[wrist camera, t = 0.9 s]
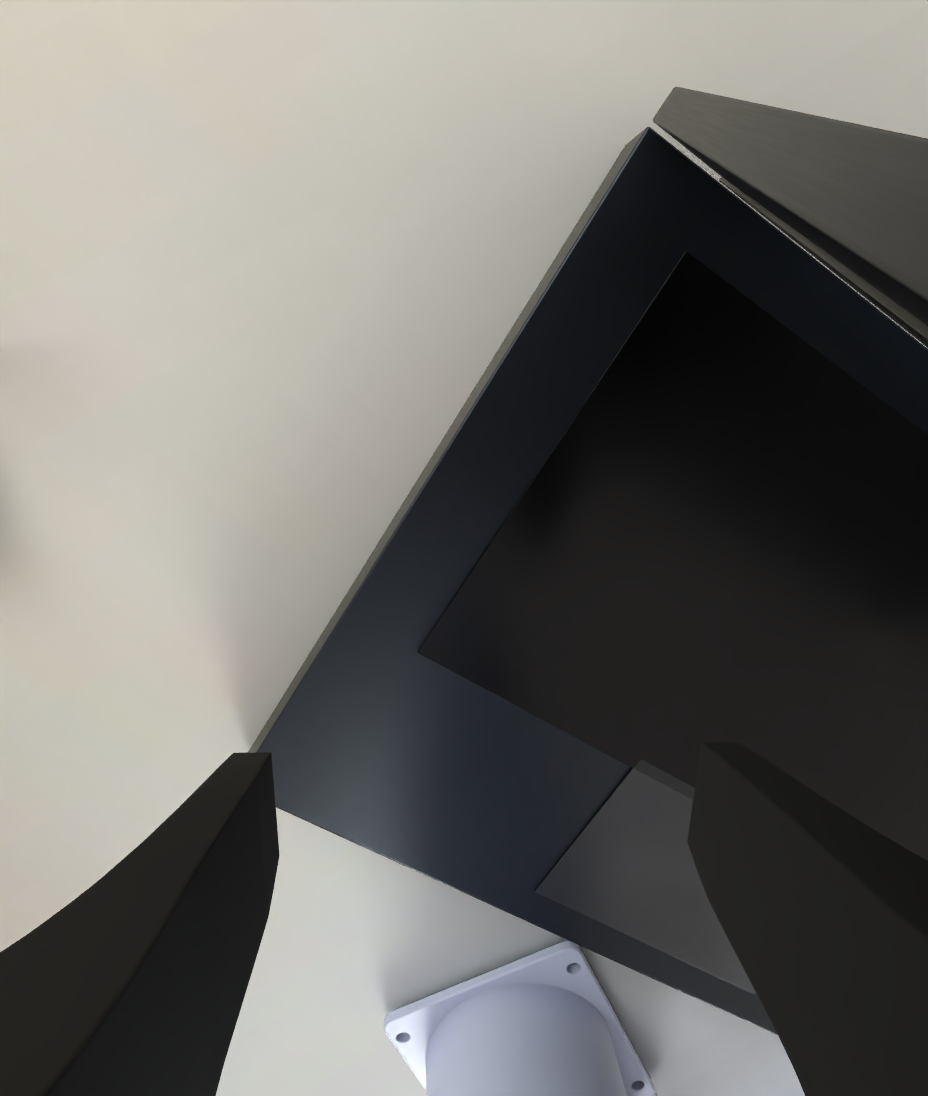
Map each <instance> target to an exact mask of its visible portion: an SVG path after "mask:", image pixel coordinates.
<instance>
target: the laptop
mask: <svg viewBox="0 0 928 1096" xmlns="http://www.w3.org/2000/svg"><path fill="white" fill-rule="evenodd" d="M706 742H737V743H739V744H741V745H743V746H745V747H746V748H748V749H750V750H751V751H753V752H755V753H756V754H758V755H759V756H761V757H763V758H764V759H766V760H767V761H769V762H770V763H772V764H773V765H775V766H776V767H778V768H779V769H781V770H782V771H784V772H785V773H787V774H788V775H790V776H791V777H793V778H795V779H796V780H798V781H799V782H801V783H802V784H804V785H805V786H807V787H808V788H810V789H811V790H813V791H814V792H816V793H817V794H819V795H820V796H822V797H823V798H825V799H826V800H828V801H829V802H831V803H833V804H834V805H836V806H837V807H839V808H840V809H842V810H843V811H845V812H847V813H848V814H850V815H851V816H853V817H854V818H856V819H858V820H859V821H861V822H863V823H864V824H866V825H867V826H869V827H871V828H872V829H874V830H876V831H877V832H879V833H881V834H882V835H884V836H886V837H887V838H889V839H891V840H892V841H894V842H896V843H898V844H899V845H901V846H903V847H904V848H906V849H908V850H910V851H911V852H913V853H915V854H916V855H918V856H920V857H922V858H923V859H925V860H927V861H928V349H927V348H926V347H924V346H923V345H922V344H921V343H919V342H918V341H917V340H916V339H914V338H913V337H912V336H910V335H909V334H908V333H907V332H905V331H904V330H903V329H902V328H900V327H899V326H898V325H897V324H895V323H894V322H893V321H892V320H890V319H889V318H888V317H887V316H885V315H884V314H883V313H882V312H880V311H879V310H878V309H877V308H875V307H874V306H873V305H872V304H870V303H869V302H868V301H867V300H865V299H864V298H863V297H862V296H860V295H859V294H858V293H857V292H855V291H854V290H853V289H852V288H850V287H849V286H848V285H847V284H845V283H844V282H843V281H842V280H840V279H839V278H838V277H837V276H835V275H834V274H833V273H832V272H830V271H829V270H828V269H827V268H825V267H824V266H823V265H822V264H820V263H819V262H818V261H817V260H815V259H814V258H813V257H812V256H810V255H809V254H808V253H807V252H805V251H804V250H803V249H802V248H800V247H799V246H798V245H797V244H795V243H794V242H793V241H792V240H790V239H789V238H788V237H787V236H785V235H784V234H783V233H782V232H780V231H779V230H778V229H777V228H775V227H774V226H773V225H772V224H770V223H769V222H768V221H767V220H765V219H764V218H763V217H762V216H760V215H759V214H758V213H757V212H755V211H754V210H753V209H752V208H750V207H749V206H748V205H747V204H745V203H744V202H743V201H742V200H740V199H739V198H738V197H737V196H735V195H734V194H733V193H732V192H730V191H729V190H728V189H727V188H725V187H724V186H723V185H721V184H720V183H719V182H718V181H716V180H715V179H714V178H713V177H711V176H710V175H709V174H708V173H706V172H705V171H704V170H703V169H701V168H700V167H699V166H698V165H696V164H695V163H694V162H693V161H691V160H690V159H689V158H688V157H686V156H685V155H684V154H683V153H681V152H680V151H679V150H678V149H676V148H675V147H674V146H673V145H671V144H670V143H669V142H668V141H666V140H665V139H664V138H663V137H661V136H660V135H659V134H658V133H656V132H655V131H654V130H653V129H651V128H650V127H647V128H646V129H645V130H643V131H642V132H641V133H640V134H639V135H637V136H636V137H635V138H634V139H633V140H631V141H630V142H629V143H628V144H627V145H626V146H625V147H624V149H623V150H622V152H621V153H620V155H619V157H618V158H617V160H616V162H615V163H614V165H613V166H612V168H611V170H610V171H609V173H608V174H607V176H606V178H605V179H604V181H603V182H602V184H601V186H600V187H599V189H598V190H597V192H596V194H595V195H594V197H593V199H592V200H591V202H590V203H589V205H588V207H587V208H586V210H585V211H584V213H583V215H582V216H581V218H580V219H579V221H578V223H577V224H576V226H575V227H574V229H573V231H572V232H571V234H570V236H569V237H568V239H567V240H566V242H565V244H564V245H563V247H562V248H561V250H560V252H559V253H558V255H557V256H556V258H555V260H554V261H553V263H552V264H551V266H550V268H549V269H548V271H547V272H546V274H545V276H544V277H543V279H542V281H541V282H540V284H539V285H538V287H537V289H536V290H535V292H534V293H533V295H532V297H531V298H530V300H529V301H528V303H527V305H526V306H525V308H524V309H523V311H522V313H521V314H520V316H519V318H518V319H517V321H516V322H515V324H514V326H513V327H512V329H511V330H510V332H509V334H508V335H507V337H506V338H505V340H504V342H503V343H502V345H501V346H500V348H499V350H498V351H497V353H496V355H495V356H494V358H493V359H492V361H491V363H490V364H489V366H488V367H487V369H486V371H485V372H484V374H483V375H482V377H481V379H480V380H479V382H478V383H477V385H476V387H475V388H474V390H473V392H472V393H471V395H470V396H469V398H468V400H467V401H466V403H465V404H464V406H463V408H462V409H461V411H460V412H459V414H458V416H457V417H456V419H455V420H454V422H453V424H452V425H451V427H450V428H449V430H448V432H447V433H446V435H445V437H444V438H443V440H442V441H441V443H440V445H439V446H438V448H437V449H436V451H435V453H434V454H433V456H432V457H431V459H430V461H429V462H428V464H427V465H426V467H425V469H424V470H423V472H422V474H421V475H420V477H419V478H418V480H417V482H416V483H415V485H414V486H413V488H412V490H411V491H410V493H409V494H408V496H407V498H406V499H405V501H404V502H403V504H402V506H401V507H400V509H399V511H398V512H397V514H396V515H395V517H394V519H393V520H392V522H391V523H390V525H389V527H388V528H387V530H386V531H385V533H384V535H383V536H382V538H381V539H380V541H379V543H378V544H377V546H376V548H375V549H374V551H373V552H372V554H371V556H370V557H369V559H368V560H367V562H366V564H365V565H364V567H363V568H362V570H361V572H360V573H359V575H358V576H357V578H356V580H355V581H354V583H353V585H352V586H351V588H350V589H349V591H348V593H347V594H346V596H345V597H344V599H343V601H342V602H341V604H340V605H339V607H338V609H337V610H336V612H335V613H334V615H333V617H332V618H331V620H330V621H329V623H328V625H327V626H326V628H325V630H324V631H323V633H322V634H321V636H320V638H319V639H318V641H317V642H316V644H315V646H314V647H313V649H312V650H311V652H310V654H309V655H308V657H307V658H306V660H305V662H304V663H303V665H302V667H301V668H300V670H299V671H298V673H297V675H296V676H295V678H294V679H293V681H292V683H291V684H290V686H289V687H288V689H287V691H286V692H285V694H284V695H283V697H282V699H281V700H280V702H279V704H278V705H277V707H276V708H275V710H274V712H273V713H272V715H271V716H270V718H269V720H268V721H267V723H266V724H265V726H264V728H263V729H262V731H261V732H260V734H259V736H258V737H257V739H256V741H255V742H254V744H253V745H252V747H251V749H250V750H249V752H248V753H256V752H271V753H272V767H273V780H274V793H275V806H276V807H277V808H279V809H281V810H283V811H286V812H288V813H290V814H292V815H294V816H297V817H299V818H301V819H303V820H305V821H308V822H310V823H312V824H314V825H316V826H319V827H321V828H323V829H325V830H327V831H330V832H332V833H334V834H336V835H338V836H341V837H343V838H345V839H347V840H349V841H352V842H354V843H356V844H358V845H360V846H363V847H365V848H367V849H369V850H371V851H374V852H376V853H378V854H380V855H382V856H385V857H387V858H389V859H391V860H393V861H396V862H398V863H400V864H402V865H404V866H407V867H409V868H411V869H413V870H415V871H418V872H420V873H422V874H424V875H426V876H429V877H431V878H433V879H435V880H437V881H440V882H442V883H444V884H446V885H448V886H451V887H453V888H455V889H457V890H459V891H461V892H464V893H466V894H468V895H470V896H472V897H475V898H477V899H479V900H481V901H483V902H486V903H488V904H490V905H492V906H494V907H497V908H499V909H501V910H503V911H505V912H508V913H510V914H512V915H514V916H516V917H519V918H521V919H523V920H525V921H527V922H530V923H532V924H534V925H536V926H538V927H541V928H543V929H545V930H547V931H549V932H552V933H554V934H556V935H558V936H560V937H563V938H565V939H567V940H569V941H571V942H574V943H576V944H578V945H580V946H582V947H585V948H587V949H589V950H591V951H593V952H596V953H598V954H600V955H602V956H604V957H607V958H609V959H611V960H613V961H615V962H618V963H620V964H622V965H624V966H626V967H629V968H631V969H633V970H635V971H637V972H640V973H642V974H644V975H646V976H648V977H651V978H653V979H655V980H657V981H659V982H661V983H664V984H666V985H668V986H670V987H672V988H675V989H677V990H679V991H681V992H683V993H686V994H688V995H690V996H692V997H694V998H697V999H699V1000H701V1001H703V1002H705V1003H708V1004H710V1005H712V1006H714V1007H716V1008H719V1009H721V1010H723V1011H725V1012H727V1013H730V1014H732V1015H734V1016H736V1017H738V1018H741V1019H743V1020H745V1021H747V1022H749V1023H752V1024H754V1025H756V1026H758V1027H760V1028H763V1029H765V1030H767V1031H769V1032H771V1033H774V1034H776V1035H778V1034H777V1032H776V1030H775V1028H774V1026H773V1024H772V1022H771V1020H770V1018H769V1017H768V1015H767V1013H766V1011H765V1009H764V1007H763V1005H762V1003H761V1001H760V999H759V997H758V995H757V994H756V992H755V990H754V988H753V986H752V984H751V982H750V980H749V978H748V976H747V974H746V972H745V971H744V969H743V967H742V965H741V963H740V961H739V959H738V957H737V955H736V953H735V951H734V949H733V948H732V946H731V944H730V942H729V940H728V938H727V936H726V934H725V932H724V930H723V928H722V926H721V924H720V922H719V920H718V918H717V916H716V914H715V912H714V910H713V908H712V906H711V904H710V902H709V900H708V898H707V895H706V893H705V890H704V887H703V885H702V882H701V880H700V877H699V874H698V872H697V869H696V866H695V863H694V860H693V857H692V854H691V852H690V849H689V846H688V843H687V840H688V833H689V825H690V818H691V811H692V804H693V797H694V790H695V783H696V776H697V769H698V762H699V755H700V748H701V743H706Z"/></svg>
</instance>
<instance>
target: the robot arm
mask: <svg viewBox="0 0 928 1096" xmlns="http://www.w3.org/2000/svg"><path fill="white" fill-rule="evenodd" d="M687 843H688V846H689V849H690V852H691V854H692V857H693V860H694V863H695V866H696V869H697V872H698V874H699V877H700V880H701V882H702V885H703V887H704V890H705V893H706V895H707V898H708V900H709V902H710V904H711V906H712V908H713V910H714V912H715V914H716V916H717V918H718V920H719V922H720V924H721V926H722V928H723V930H724V932H725V934H726V936H727V938H728V940H729V942H730V944H731V946H732V948H733V949H734V951H735V953H736V955H737V957H738V959H739V961H740V963H741V965H742V967H743V969H744V971H745V972H746V974H747V976H748V978H749V980H750V982H751V984H752V986H753V988H754V990H755V992H756V994H757V995H758V997H759V999H760V1001H761V1003H762V1005H763V1007H764V1009H765V1011H766V1013H767V1015H768V1017H769V1018H770V1020H771V1022H772V1024H773V1026H774V1028H775V1030H776V1032H777V1034H778V1036H779V1038H780V1040H781V1042H782V1044H783V1046H784V1048H785V1050H786V1053H787V1055H788V1057H789V1059H790V1061H791V1063H792V1065H793V1067H794V1070H795V1072H796V1074H797V1077H798V1079H799V1082H800V1084H801V1086H802V1089H803V1091H804V1094H805V1096H928V861H927V860H925V859H923V858H922V857H920V856H918V855H916V854H915V853H913V852H911V851H910V850H908V849H906V848H904V847H903V846H901V845H899V844H898V843H896V842H894V841H892V840H891V839H889V838H887V837H886V836H884V835H882V834H881V833H879V832H877V831H876V830H874V829H872V828H871V827H869V826H867V825H866V824H864V823H863V822H861V821H859V820H858V819H856V818H854V817H853V816H851V815H850V814H848V813H847V812H845V811H843V810H842V809H840V808H839V807H837V806H836V805H834V804H833V803H831V802H829V801H828V800H826V799H825V798H823V797H822V796H820V795H819V794H817V793H816V792H814V791H813V790H811V789H810V788H808V787H807V786H805V785H804V784H802V783H801V782H799V781H798V780H796V779H795V778H793V777H791V776H790V775H788V774H787V773H785V772H784V771H782V770H781V769H779V768H778V767H776V766H775V765H773V764H772V763H770V762H769V761H767V760H766V759H764V758H763V757H761V756H759V755H758V754H756V753H755V752H753V751H751V750H750V749H748V748H746V747H745V746H743V745H741V744H739V743H737V742H706V743H701V748H700V755H699V762H698V769H697V776H696V783H695V790H694V797H693V804H692V811H691V818H690V825H689V833H688V840H687ZM278 860H279V845H278V832H277V819H276V806H275V793H274V780H273V767H272V753H271V752H256V753H233V754H232V755H231V756H230V757H229V758H228V759H227V760H226V761H225V762H224V763H223V764H222V765H221V766H219V767H218V768H217V769H216V771H215V772H214V773H213V774H212V775H211V776H210V777H209V778H208V779H207V780H206V781H205V782H204V783H203V784H202V785H201V786H200V787H199V788H198V789H197V790H196V791H195V792H194V793H193V794H192V795H191V796H190V797H189V798H188V799H187V800H186V801H185V802H184V803H183V804H182V805H181V806H180V807H179V808H178V809H177V810H176V811H175V812H174V813H173V814H172V815H171V816H169V817H168V818H167V819H166V820H165V821H164V822H163V823H162V824H161V825H160V826H159V827H158V828H157V829H156V830H155V831H154V832H153V833H152V834H151V835H150V836H149V837H148V838H147V839H145V840H144V841H143V842H142V843H141V844H140V845H139V846H138V847H137V848H135V849H134V850H133V851H132V852H131V853H130V854H129V855H127V856H126V857H125V858H124V859H123V860H122V861H121V862H119V863H118V864H117V865H116V866H115V867H114V868H113V869H111V870H110V871H109V872H108V873H107V874H106V875H105V876H103V877H102V878H101V879H100V880H99V881H97V882H96V883H95V884H94V885H92V886H91V887H90V888H89V889H87V890H86V891H85V892H84V893H82V894H81V895H80V896H79V897H77V898H76V899H75V900H74V901H72V902H71V903H70V904H68V905H67V906H66V907H64V908H63V909H61V910H60V911H59V912H57V913H56V914H55V915H53V916H52V917H51V918H49V919H48V920H47V921H45V922H44V923H43V924H41V925H40V926H39V927H37V928H36V929H34V930H33V931H32V932H30V933H29V934H27V935H26V936H24V937H23V938H21V939H20V940H18V941H17V942H15V943H14V944H12V945H11V946H9V947H8V948H6V949H5V950H3V951H2V952H0V1096H215V1095H216V1091H217V1088H218V1084H219V1080H220V1076H221V1072H222V1069H223V1065H224V1062H225V1058H226V1055H227V1052H228V1048H229V1045H230V1042H231V1039H232V1035H233V1032H234V1029H235V1025H236V1022H237V1019H238V1016H239V1012H240V1009H241V1006H242V1003H243V999H244V996H245V993H246V989H247V986H248V983H249V980H250V976H251V973H252V970H253V966H254V963H255V960H256V956H257V953H258V950H259V946H260V943H261V940H262V936H263V933H264V930H265V926H266V923H267V919H268V915H269V910H270V905H271V899H272V894H273V889H274V883H275V877H276V871H277V866H278ZM572 963H575V964H572ZM570 964H571V965H570ZM384 1031H385V1033H386V1034H387V1036H388V1037H389V1039H390V1040H391V1041H392V1043H393V1044H394V1046H395V1047H396V1049H397V1050H398V1051H399V1053H400V1054H401V1056H402V1057H403V1059H404V1060H405V1061H406V1063H407V1064H408V1066H409V1067H410V1069H411V1070H412V1071H413V1073H414V1074H415V1076H416V1077H417V1078H418V1080H419V1081H420V1083H421V1084H422V1086H423V1087H424V1088H425V1090H426V1096H657V1093H656V1090H655V1087H654V1085H653V1083H652V1081H651V1079H650V1078H649V1076H648V1074H647V1072H646V1070H645V1068H644V1066H643V1065H642V1063H641V1061H640V1059H639V1057H638V1055H637V1053H636V1051H635V1050H634V1048H633V1046H632V1044H631V1042H630V1040H629V1038H628V1037H627V1035H626V1033H625V1031H624V1029H623V1027H622V1025H621V1023H620V1022H619V1020H618V1018H617V1016H616V1014H615V1012H614V1010H613V1009H612V1007H611V1005H610V1003H609V1001H608V999H607V997H606V995H605V994H604V992H603V990H602V988H601V986H600V984H599V982H598V981H597V979H596V977H595V975H594V973H593V971H592V969H591V967H590V966H589V964H588V962H587V960H586V958H585V956H584V954H583V952H582V951H581V949H580V947H579V946H578V944H576V943H574V942H571V941H564V942H560V943H558V944H556V945H553V946H551V947H548V948H546V949H543V950H541V951H538V952H536V953H533V954H531V955H529V956H526V957H524V958H521V959H519V960H516V961H514V962H511V963H509V964H506V965H504V966H502V967H499V968H497V969H494V970H492V971H489V972H487V973H484V974H482V975H479V976H477V977H475V978H472V979H470V980H467V981H465V982H462V983H460V984H457V985H455V986H452V987H450V988H448V989H445V990H443V991H440V992H438V993H435V994H433V995H430V996H428V997H425V998H423V999H421V1000H418V1001H416V1002H413V1003H411V1004H408V1005H406V1006H403V1007H401V1008H398V1009H396V1010H394V1011H391V1012H390V1013H388V1014H387V1015H386V1016H385V1019H384Z"/></svg>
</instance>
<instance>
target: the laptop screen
mask: <svg viewBox="0 0 928 1096" xmlns="http://www.w3.org/2000/svg"><path fill="white" fill-rule="evenodd" d="M653 121H654V123H655V124H657V125H658V126H659V127H660V128H662V129H663V130H664V131H665V132H667V133H668V134H669V135H670V136H672V137H673V138H674V139H675V140H677V141H678V142H679V143H680V144H682V145H683V146H684V147H685V148H687V149H688V150H689V151H690V152H692V153H693V154H694V155H695V156H697V157H698V158H699V159H700V160H702V161H703V162H704V163H705V164H707V165H708V166H709V167H710V168H712V169H713V170H714V171H715V172H717V173H718V174H719V175H720V176H722V177H721V179H720V180H719V181H720V182H721V183H723V184H724V185H725V186H726V187H728V188H729V189H730V190H731V191H733V192H734V193H735V194H736V195H738V196H739V197H740V198H741V199H743V200H744V201H745V202H746V203H748V204H749V205H750V206H751V207H753V208H754V209H755V210H756V211H758V212H759V213H760V214H761V215H763V216H764V217H765V218H766V219H768V220H769V221H770V222H771V223H773V224H774V225H775V226H776V227H778V228H779V229H780V230H781V231H783V232H784V233H785V234H786V235H788V236H789V237H790V238H791V239H793V240H794V241H795V242H796V243H798V244H799V245H800V246H801V247H803V248H804V249H805V250H806V251H808V252H809V253H810V254H811V255H813V256H814V257H815V258H816V259H818V260H819V261H820V262H821V263H823V264H824V265H825V266H827V267H828V268H829V269H830V270H832V271H833V272H834V273H835V274H837V275H838V276H839V277H840V278H842V279H843V280H844V281H845V282H847V283H848V284H849V285H850V286H852V287H853V288H854V289H855V290H857V291H858V292H859V293H860V294H862V295H863V296H864V297H865V298H867V299H868V300H869V301H870V302H872V303H873V304H874V305H875V306H877V307H878V308H879V309H880V310H882V311H883V312H884V313H885V314H887V315H888V316H889V317H890V318H892V319H893V320H894V321H895V322H897V323H898V324H899V325H900V326H902V327H903V328H904V329H905V330H907V331H908V332H909V333H910V334H912V335H913V336H914V337H915V338H917V339H918V340H919V341H920V342H922V343H923V344H924V345H925V346H927V347H928V139H926V138H921V137H916V136H911V135H906V134H902V133H897V132H892V131H887V130H882V129H878V128H873V127H868V126H863V125H858V124H854V123H849V122H844V121H839V120H834V119H829V118H825V117H820V116H815V115H810V114H805V113H801V112H796V111H791V110H786V109H781V108H776V107H772V106H767V105H762V104H757V103H752V102H748V101H743V100H738V99H733V98H728V97H724V96H719V95H714V94H709V93H704V92H699V91H695V90H690V89H685V88H680V87H675V88H673V90H672V91H671V93H670V94H669V96H668V97H667V99H666V100H665V102H664V103H663V105H662V106H661V108H660V109H659V111H658V112H657V114H656V115H655V117H654V118H653Z"/></svg>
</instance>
